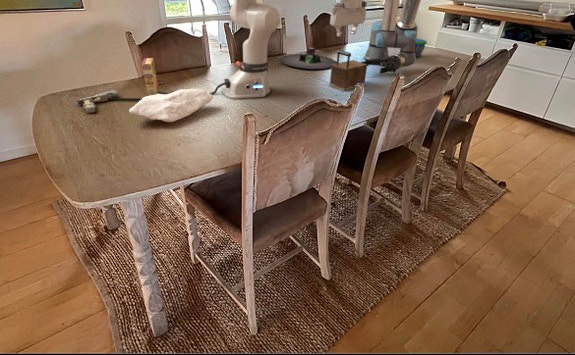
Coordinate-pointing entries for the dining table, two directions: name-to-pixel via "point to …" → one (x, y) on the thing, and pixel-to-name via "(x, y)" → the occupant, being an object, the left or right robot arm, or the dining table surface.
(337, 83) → the chest
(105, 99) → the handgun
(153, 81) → the candy box
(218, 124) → the dining table surface
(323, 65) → the round grey tray
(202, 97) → the crumpled cloth
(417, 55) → the snack cup
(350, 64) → the lid
